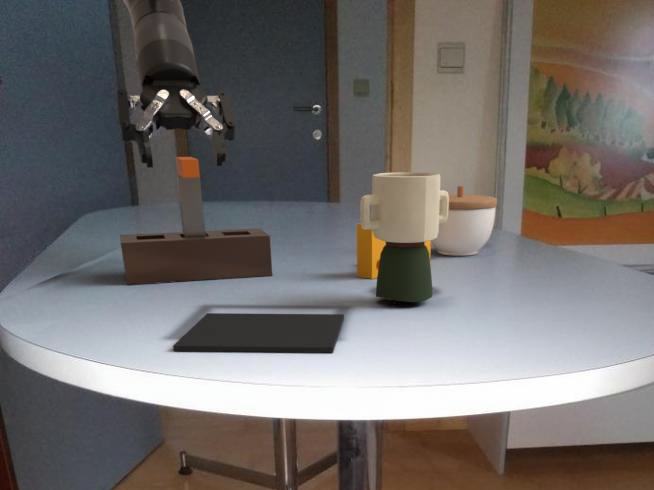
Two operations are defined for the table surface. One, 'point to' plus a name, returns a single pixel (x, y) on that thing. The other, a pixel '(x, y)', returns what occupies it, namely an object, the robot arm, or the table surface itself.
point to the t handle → (190, 197)
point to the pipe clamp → (371, 252)
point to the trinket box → (466, 224)
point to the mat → (263, 333)
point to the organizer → (196, 256)
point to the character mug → (404, 231)
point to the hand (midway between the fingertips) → (185, 162)
